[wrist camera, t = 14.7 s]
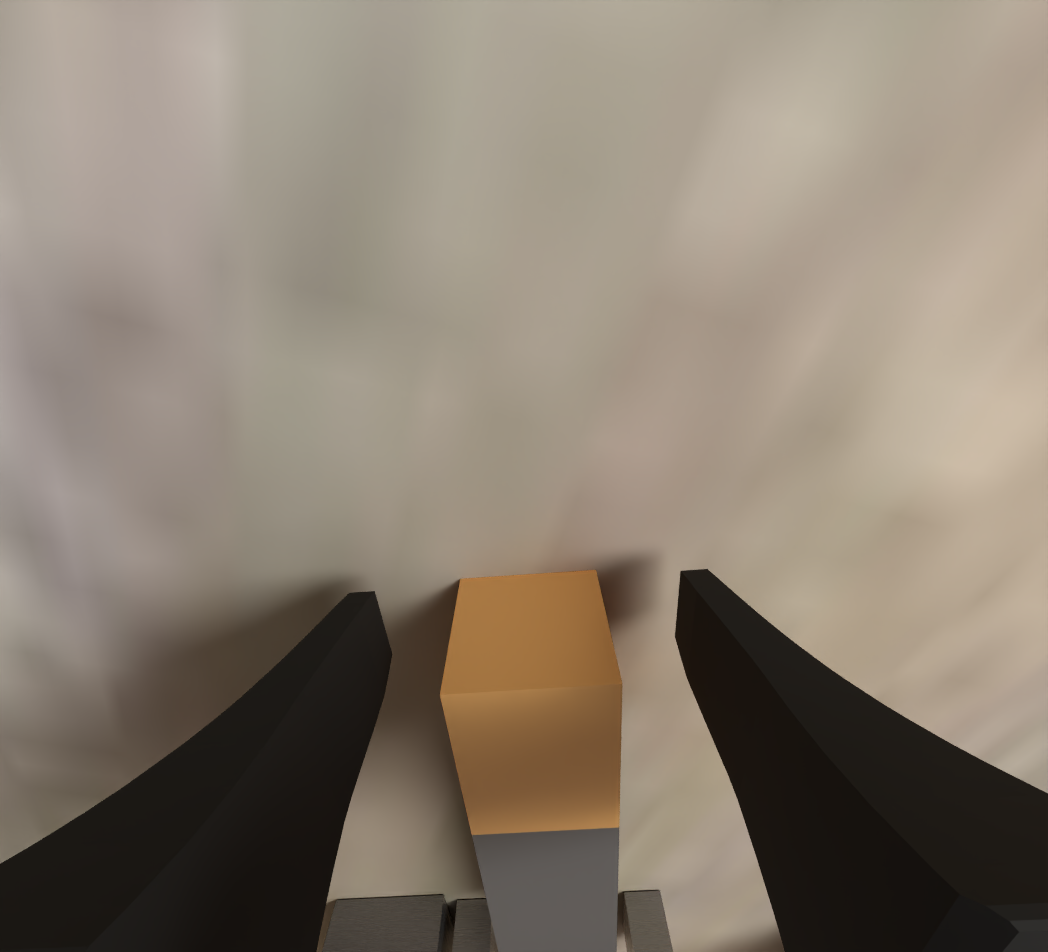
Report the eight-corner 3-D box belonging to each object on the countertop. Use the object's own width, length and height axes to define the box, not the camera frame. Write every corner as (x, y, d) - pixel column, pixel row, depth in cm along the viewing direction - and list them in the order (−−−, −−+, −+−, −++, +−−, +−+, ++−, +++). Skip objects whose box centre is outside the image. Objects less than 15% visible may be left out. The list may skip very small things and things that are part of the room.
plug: (595, 569, 12) (622, 683, 9) (599, 867, 19) (615, 994, 16) (460, 578, 13) (440, 694, 9) (510, 871, 19) (509, 998, 16)
